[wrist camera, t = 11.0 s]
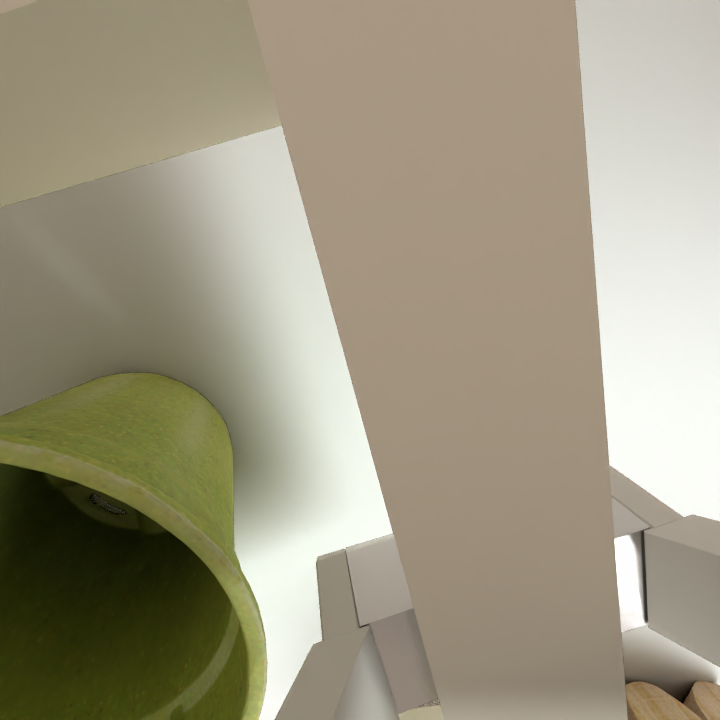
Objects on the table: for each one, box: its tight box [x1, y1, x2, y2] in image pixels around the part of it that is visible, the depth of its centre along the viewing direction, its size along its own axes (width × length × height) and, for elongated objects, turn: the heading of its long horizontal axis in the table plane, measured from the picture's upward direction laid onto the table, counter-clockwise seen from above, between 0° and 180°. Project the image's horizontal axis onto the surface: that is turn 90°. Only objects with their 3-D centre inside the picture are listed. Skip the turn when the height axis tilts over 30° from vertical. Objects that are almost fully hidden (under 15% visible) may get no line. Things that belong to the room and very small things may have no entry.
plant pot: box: [0, 373, 267, 720], centre depth 11 cm, size 9×9×9 cm
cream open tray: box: [0, 0, 628, 720], centre depth 8 cm, size 19×19×5 cm
